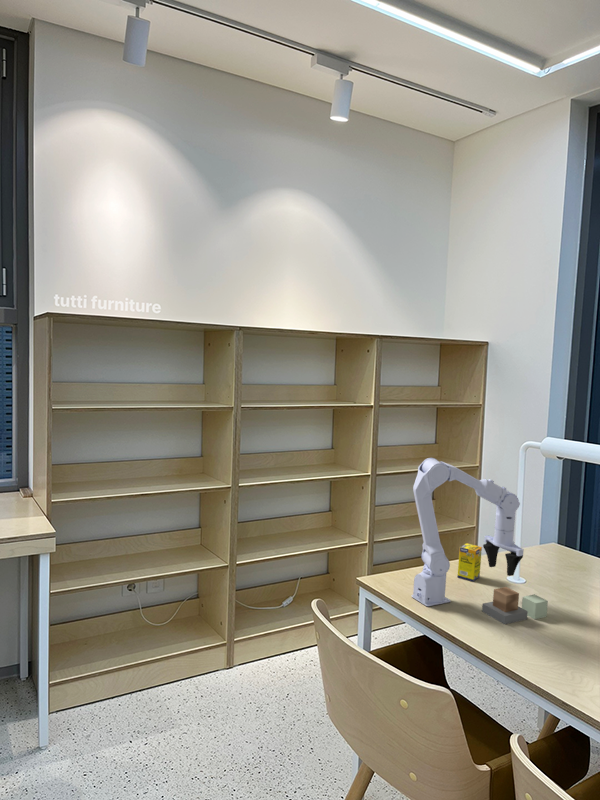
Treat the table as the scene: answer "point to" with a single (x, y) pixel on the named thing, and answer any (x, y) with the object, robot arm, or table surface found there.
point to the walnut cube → (505, 599)
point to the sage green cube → (535, 606)
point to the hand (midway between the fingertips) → (501, 570)
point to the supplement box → (469, 562)
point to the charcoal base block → (504, 613)
